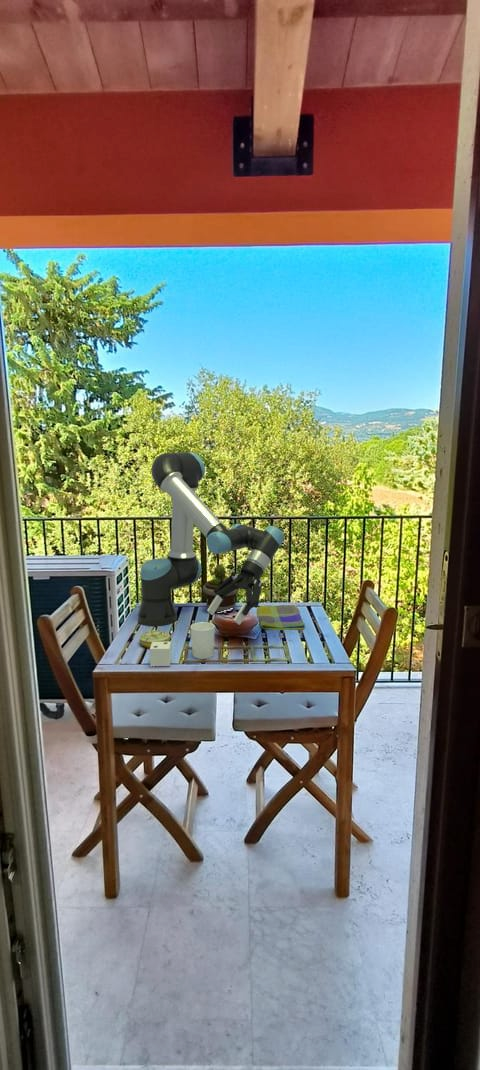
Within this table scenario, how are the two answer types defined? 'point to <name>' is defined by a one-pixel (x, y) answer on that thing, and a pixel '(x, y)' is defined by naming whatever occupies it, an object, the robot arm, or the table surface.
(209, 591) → the flowerpot
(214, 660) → the flat rectangular frame
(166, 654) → the white die
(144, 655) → the table surface
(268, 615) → the dish towel
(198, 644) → the white cup
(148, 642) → the decorated donut
